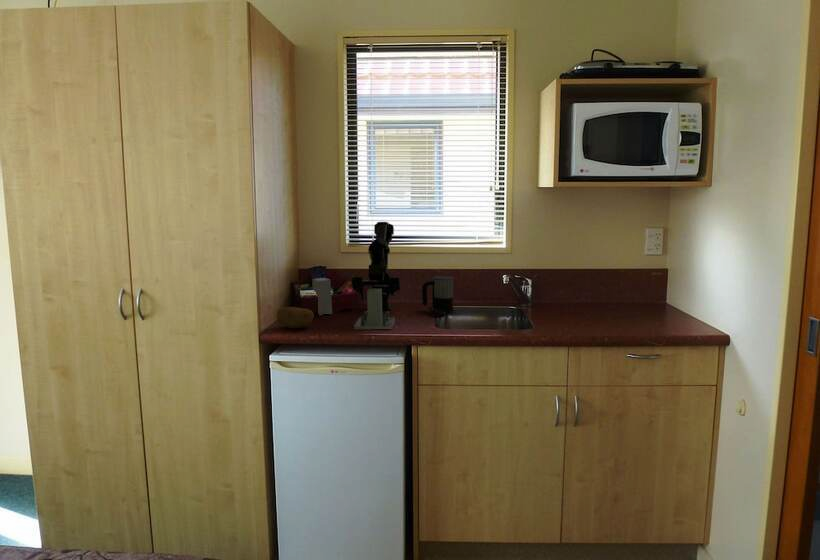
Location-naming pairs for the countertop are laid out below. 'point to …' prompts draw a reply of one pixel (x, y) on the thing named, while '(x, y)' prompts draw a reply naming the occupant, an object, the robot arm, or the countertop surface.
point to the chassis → (363, 323)
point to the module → (374, 305)
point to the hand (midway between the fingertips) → (374, 301)
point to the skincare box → (323, 295)
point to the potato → (294, 317)
